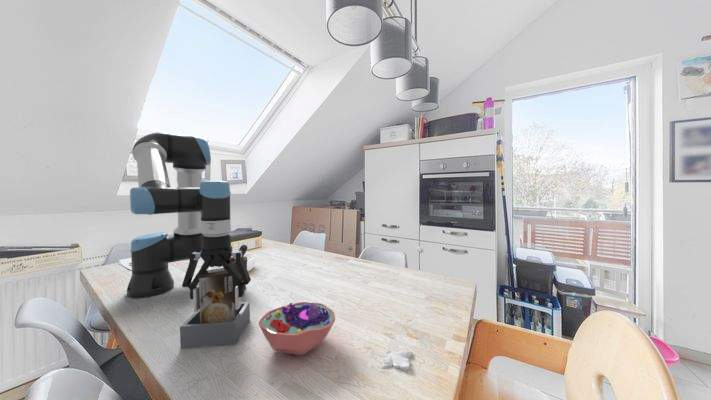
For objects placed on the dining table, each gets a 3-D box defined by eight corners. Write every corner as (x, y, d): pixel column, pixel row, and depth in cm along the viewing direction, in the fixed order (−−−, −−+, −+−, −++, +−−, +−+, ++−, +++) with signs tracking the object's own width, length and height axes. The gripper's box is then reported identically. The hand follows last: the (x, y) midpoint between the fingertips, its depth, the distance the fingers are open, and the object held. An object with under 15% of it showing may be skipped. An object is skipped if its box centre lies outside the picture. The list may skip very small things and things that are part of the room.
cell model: (269, 329, 76) (268, 293, 75) (335, 327, 77) (335, 291, 76) (249, 370, 59) (249, 324, 58) (334, 367, 60) (335, 321, 60)
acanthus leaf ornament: (412, 355, 65) (412, 348, 65) (413, 375, 59) (413, 367, 58) (383, 351, 67) (383, 345, 67) (381, 370, 60) (381, 363, 60)
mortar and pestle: (258, 288, 107) (257, 241, 106) (243, 296, 98) (242, 246, 97) (235, 284, 110) (234, 239, 109) (220, 292, 102) (218, 244, 101)
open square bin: (180, 348, 67) (179, 326, 66) (203, 322, 79) (203, 304, 79) (235, 344, 68) (235, 323, 68) (249, 319, 81) (249, 301, 81)
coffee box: (233, 315, 79) (233, 265, 78) (237, 325, 74) (236, 271, 73) (199, 324, 74) (198, 271, 73) (200, 335, 69) (199, 278, 68)
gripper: (164, 237, 67) (167, 317, 68) (254, 236, 70) (255, 312, 71) (180, 232, 75) (182, 304, 76) (261, 231, 78) (261, 300, 79)
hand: (218, 308), depth 74 cm, fingers closed on coffee box, 11 cm apart
